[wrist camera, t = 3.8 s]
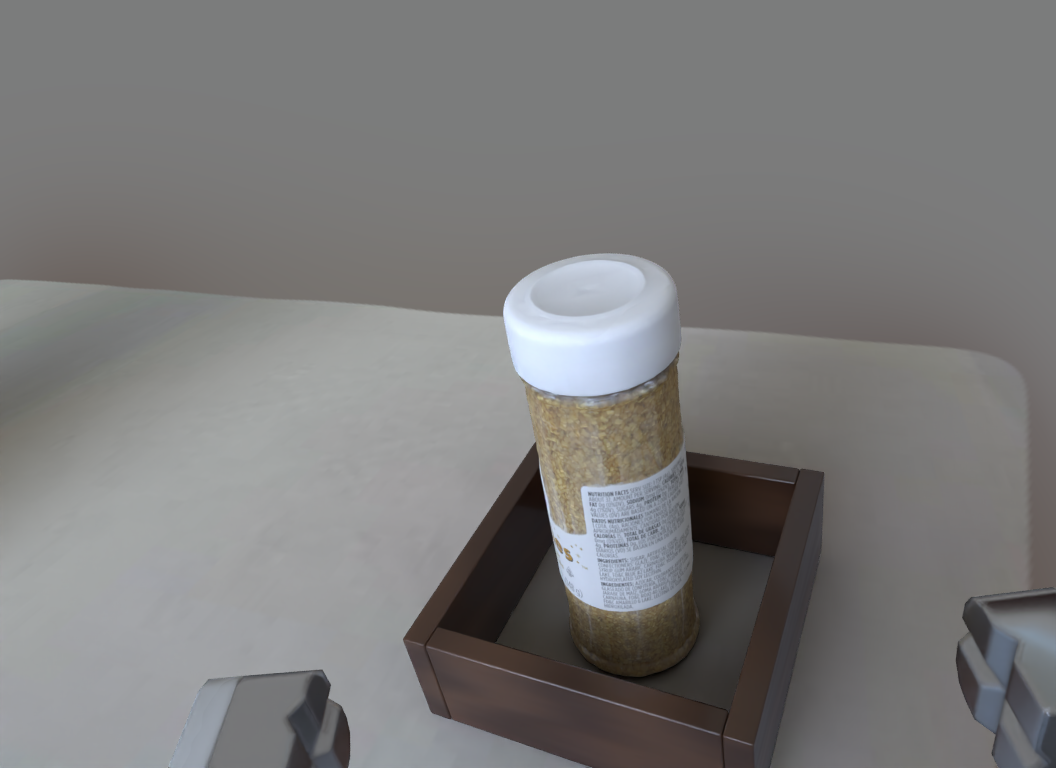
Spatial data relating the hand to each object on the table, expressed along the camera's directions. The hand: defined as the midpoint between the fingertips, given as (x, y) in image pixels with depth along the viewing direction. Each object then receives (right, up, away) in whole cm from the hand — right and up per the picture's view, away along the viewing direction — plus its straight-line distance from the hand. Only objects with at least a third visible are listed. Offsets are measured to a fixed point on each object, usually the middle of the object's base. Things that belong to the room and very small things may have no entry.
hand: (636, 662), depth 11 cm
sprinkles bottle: (+2, -5, +18) cm, 19 cm away
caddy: (+2, -5, +18) cm, 19 cm away
